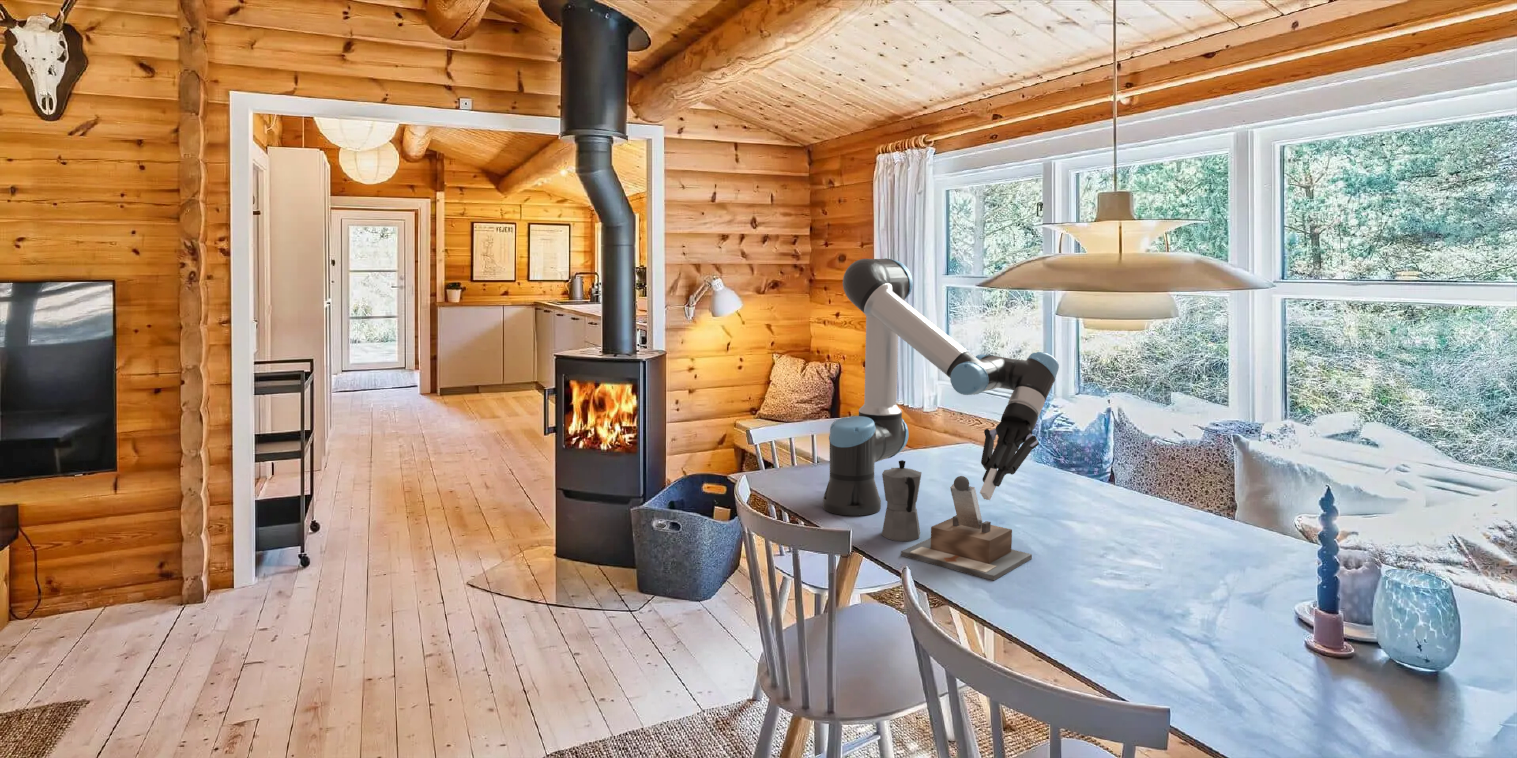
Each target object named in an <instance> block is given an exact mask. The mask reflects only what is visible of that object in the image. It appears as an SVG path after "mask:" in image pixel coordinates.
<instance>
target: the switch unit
mask: <svg viewBox="0 0 1517 758" xmlns="http://www.w3.org/2000/svg"><path fill="white" fill-rule="evenodd" d="M982 522H983V523H982V527H981V528H980V529H976V528H972V527H968V526H963V525H959V523H958V519H957V514H956V515H954V516H952V517H951V518H949V519H946V520H944V521H941V522H939V523H937V524H935V525H933V526H930V538H927V539H925V540H923V541H921V542H918V543H917V544H914V545H912V546H909V547H907V548H905V549H902V550H901V551H900V556H902V557H906V558H909V559H913V560H916V561H920V562H922V563H923V562H924V563H928V564H932V565H935V566H938V567H943V568H945V569H951V570H953V569H954V571H956V570H957V572H961V573H964V574H967V573H968V575H972V576H975V577H979V578H983V579H986V580H989V581H993V580H994V581H996V580H997V579H999V578H1001V577H1003V576H1004V575H1006V574H1008V573H1010V572H1012V571H1013V570H1014V569H1016V568H1018V567H1020V566H1022V565H1023V564H1025V563H1027V562H1029V561H1030V560H1032V559H1033V558H1032V557H1033V554H1032V553H1029V552H1025V551H1021V550H1020V551H1019V550H1017V549H1013V548H1012V545H1013V543H1012V542H1013V541H1012V539H1013V529H1011V528H1007V527H1003V526H999V525H998V526H997V525H993V524H991V523H992V522H991V521H989V520H986V521H982Z"/></svg>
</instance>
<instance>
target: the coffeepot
mask: <svg viewBox="0 0 1517 758" xmlns="http://www.w3.org/2000/svg"><path fill="white" fill-rule="evenodd" d="M898 466H899V467H891V468H890V469H884V470H883V471H882V473H881V476H882V483H883V491H884V497H885V501H886V510H885V515H884V520H883V526H882V529H881V530H882V532H881V536H883V537H884V538H885V539H888V540H891V541H894V542H911V541H915V540H918V539H919V538H920V536H921V529H920V528H921V527H920V522H919V515H918V509H917V501H918V497H919V492H920V485H921V478H922V471H918V470H915V469H913V468H907V467H905V466H906V460H903V459H901V460H899V461H898Z"/></svg>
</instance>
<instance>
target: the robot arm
mask: <svg viewBox="0 0 1517 758" xmlns="http://www.w3.org/2000/svg"><path fill="white" fill-rule="evenodd" d="M913 285H914V282H913V276H912V273H911V271H910V269H909V268H908V267H907V266H906V265H905V264H904V263H903V262H901V261H899V260H897V259H892V258H860V259H858V260H855V261H854V262H853V263H851V264H850V265H849V266H848V267H847V268H846V270H845V272H844V275H843V278H842V287H843V291H844V294H845V296H846V297H847V299H848V300H849V301H850V302H851V303H852V304H853V305H854V306H855V307H857V308H858V310H859V311H862V313H863V314H864V315H865V317H866V318H865V353H864V355H865V359H864V360H865V362H864V363H865V364H864V365H865V366H864V403H863V405H862V406H861V407H859V409H858V415H853V416H847V417H845V416H844V417H842V418H838V419H836V420H834V421H833V422H832V423H831V425H830V428H829V436H828V440H829V479H828V483H827V485H826V489H825V491H824V495H823V498H822V508H823V510H824V511H826V512H828V513H831V514H835V515H840V516H850V517H853V516H854V517H855V516H856V517H857V516H867V515H872V514H876V513H878V512H880V511H881V509H882V499H881V497H880V494H879V491H878V487H877V484H876V480H875V463H877V462H880V461H882V460H883V461H884V460H887V459H891V458H893V457H895V456H896V455H898V454H900V453H901V452H902V451H903V450H904V449H905V447H906V446H907V444H908V440H909V428H908V425H907V423H906V422H905V420H904V419H903V412H902V409H901V408H900V407H899V406H898V404H897V391H898V387H897V385H898V353H899V352H898V350H899V337H900V338H901V339H902V340H903V341H904V342H905V343H907V344H908V345H909V346H910V347H912V348H913V349H914V350H915V351H916V352H917V353H919V354H920V355H921V356H923V358H925V359H926V360H928V361H929V362H930V363H931V364H932V365H933V366H935V367H936V368H937V369H939V370H940V371H941V372H942V373H943V374H945V376H947V377H948V378H949V379H950V384H951V386H952V388H953V390H954V391H955V392H956V393H958V394H960V395H963V396H972V395H974V396H975V395H978V394H981V393H983V392H987V391H991V390H994V389H1004V390H1011V391H1012V393H1011V395H1010V397H1009V399H1008V401H1007V405H1006V406H1005V409H1004V410H1003V412H1002V416H1001V419H1000V422H999V423H998V424H997V425H996V427H995V428H993V429H991V430H990V429H989V428H986V429H984V431H983V433H984V436H985V439H984V444H983V448H982V455H981V461H980V464H981V465H982V467H983V468H984V470H985V471H984V474H983V477H982V482H983V484H982V486H981V488H980V491H979V494H980V495H981V496H982V498H983V499H984V500H989V501H991V499H992V496H993V494H994V492H995V491H996V487H1000V486H1001V484H1002V482H1003V480H1004V478H1005V476H1006V475H1014V474H1015V473H1016V472H1017V471H1018V469H1019V468H1020V466H1022V463H1024V461H1025V460H1026V459H1027V457H1028V456H1029V454H1031V452H1032V451H1033V450H1034V449H1035V448H1037V447H1038V446H1039V445H1040V442H1039V441H1038V439H1037V437H1036V435H1033V431H1034V428H1035V426H1036V425H1037V422H1038V420H1039V417H1040V415H1041V412H1042V410H1043V407H1044V406H1045V402H1046V400H1047V398H1048V396H1049V394H1050V391H1051V389H1052V388H1053V385H1054V383H1055V381H1056V377H1057V375H1058V372H1059V368H1060V365H1059V363H1058V361H1057V359H1056V358H1055V357H1054V356H1053V355H1051V354H1049V353H1046V352H1042V351H1037V352H1032V353H1031V354H1030V355H1029V356H1028V357H1027V358H1026V360H1025V359H1015V358H1009V357H1003V356H998V355H994V354H982V353H981V354H980V353H979V354H977V355H976V356H975V355H974V354H972V353H971V352H970V351H969V350H968V349H967V348H965V347H963V345H961V344H960V343H959V342H957V341H956V340H955V339H953V338H952V336H949V335H948V334H947V333H946V332H945V331H943V330H942V329H941V328H939V327H938V326H937V325H936V324H934V322H932V321H930V320H929V319H928V318H927V317H926V316H924V315H923V314H922V313H921V312H919V311H918V310H917V309H916V308H915V307H913V306H912V305H910V304H909V303H908V302H907V301H906V299H907V298H908V296H909V295H910V294H911V292H912V290H913ZM996 436H997V437H998V438H997V437H996ZM996 438H997V440H996ZM995 440H996V441H997V442H996V446H995V447H994V445H995Z"/></svg>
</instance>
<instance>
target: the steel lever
mask: <svg viewBox="0 0 1517 758" xmlns="http://www.w3.org/2000/svg"><path fill="white" fill-rule="evenodd" d="M949 487H950V492H951V496H952V501H953V505H954V509H955V514H956V515H957V519H958V523H959V525H963V526H968V527H972V528H976V529H980V528H981V527H982V523H983V522H984V521H983V518H982V513H981V509H980V505H979V501H978V496H977V490H976V487H975V486H970V481H969V479H968V478H967V477H966V476H963V475H960V476H957V477H956V478H955V479H954V481H953V484H951V486H949Z"/></svg>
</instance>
